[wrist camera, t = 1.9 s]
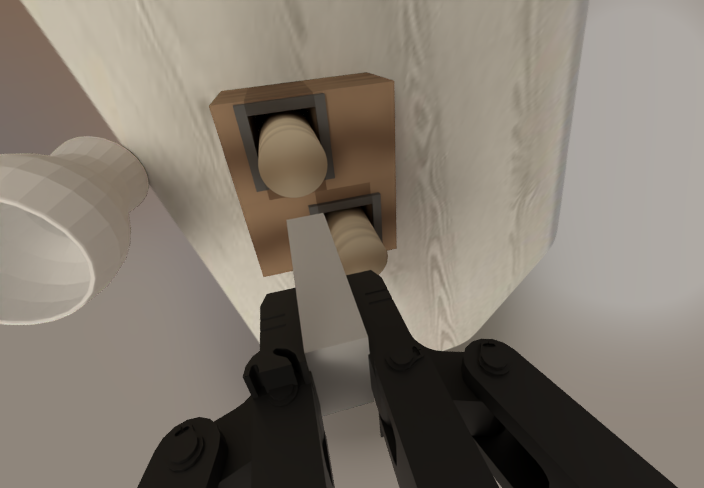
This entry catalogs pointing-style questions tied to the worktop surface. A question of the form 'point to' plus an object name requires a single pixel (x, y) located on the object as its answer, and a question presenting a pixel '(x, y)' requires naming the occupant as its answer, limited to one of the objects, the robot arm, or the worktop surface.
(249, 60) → the worktop surface
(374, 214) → the walnut block
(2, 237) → the cup
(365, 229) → the dowel
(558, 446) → the robot arm
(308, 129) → the dowel
